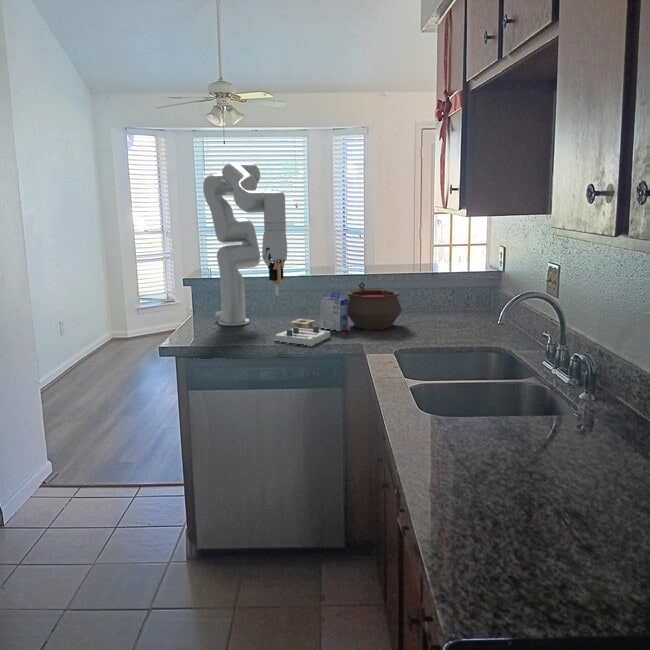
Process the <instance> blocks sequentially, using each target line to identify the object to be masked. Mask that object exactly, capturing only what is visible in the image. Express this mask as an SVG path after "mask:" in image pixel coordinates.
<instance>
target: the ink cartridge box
mask: <svg viewBox="0 0 650 650" xmlns="http://www.w3.org/2000/svg"><path fill="white" fill-rule="evenodd" d="M335 294H336V295H335ZM340 295H341V292H340V291H339V292H338V291H332V293H331V296H326V297H321V298H320V328H319V329H321V328H324V329H323V330H327V329H330V330H329V331H333V330H336V331H335V332H344V331H347V330H346V329H348V328H349V318H348V317H349V316H348V298H342V297H340ZM343 330H344V331H343Z"/></svg>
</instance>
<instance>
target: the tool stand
mask: <svg viewBox="0 0 650 650" xmlns="http://www.w3.org/2000/svg"><path fill="white" fill-rule="evenodd" d="M314 326H316V320H315V319H314V320H313V319H304V318H297V319H295V320H291V321H290V322H289V329H292V328H293V327H299V328H304V329H313V327H314Z"/></svg>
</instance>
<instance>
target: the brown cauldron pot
mask: <svg viewBox="0 0 650 650" xmlns="http://www.w3.org/2000/svg"><path fill="white" fill-rule="evenodd" d="M365 286H366V284H365V283H364V282H362V281H361V282H360V283H359V284H358V287H359V288H356V289H355V288H354V289H348V290H346V293H347V295H348V298H347V299H348V317H349V319H350V320H351V322H352V323H353V325H354V326H355V328H356V327H357V329H361V328H362V330H366V329H382V330H384V329H385V328H386V329H388V328H389V327H390V328H391V327H392V326H393V324H394V323H395V321H396V320H397V318H398V317H399V316H400V314H401V313H402V312H403V308H402V307H401V305H400V302H399V299H398V297H399V296H400V295H401V293H400V291H399V290H398V289H392V288H383V287H372V288H370V287H365ZM390 328H389V329H390Z"/></svg>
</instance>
